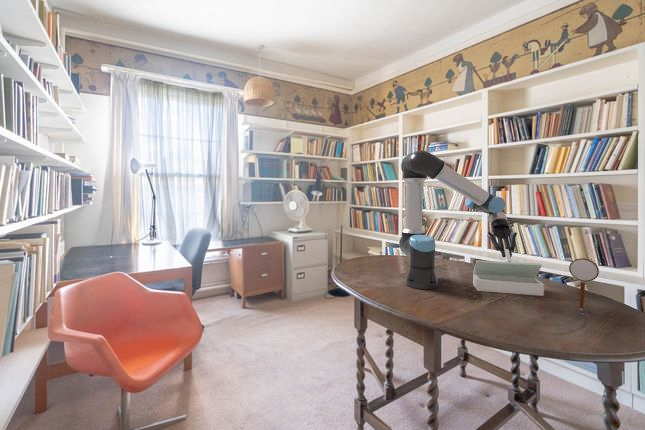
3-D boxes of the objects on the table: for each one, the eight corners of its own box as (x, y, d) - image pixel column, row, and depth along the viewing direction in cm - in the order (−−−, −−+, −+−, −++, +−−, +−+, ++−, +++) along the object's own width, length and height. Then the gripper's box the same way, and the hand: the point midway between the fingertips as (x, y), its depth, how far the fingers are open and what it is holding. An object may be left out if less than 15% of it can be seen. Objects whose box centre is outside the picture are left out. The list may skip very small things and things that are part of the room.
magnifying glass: (596, 313, 114) (600, 260, 113) (595, 314, 113) (599, 260, 112) (567, 306, 121) (570, 256, 119) (566, 307, 120) (569, 256, 118)
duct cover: (476, 261, 143) (476, 259, 144) (473, 274, 150) (473, 271, 151) (542, 265, 136) (541, 262, 136) (535, 277, 143) (534, 275, 143)
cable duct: (477, 290, 141) (477, 279, 140) (473, 284, 150) (473, 274, 150) (543, 295, 133) (544, 284, 133) (534, 288, 143) (535, 278, 142)
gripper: (512, 227, 157) (523, 267, 142) (483, 227, 161) (491, 266, 146) (515, 217, 152) (527, 258, 137) (486, 217, 155) (494, 257, 140)
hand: (508, 262), depth 141 cm, fingers closed
